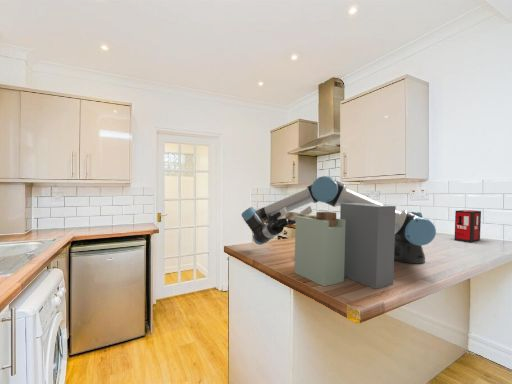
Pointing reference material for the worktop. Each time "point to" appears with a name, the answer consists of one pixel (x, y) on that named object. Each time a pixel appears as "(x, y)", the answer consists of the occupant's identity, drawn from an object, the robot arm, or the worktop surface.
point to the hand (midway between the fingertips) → (298, 209)
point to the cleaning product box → (467, 225)
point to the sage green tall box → (320, 250)
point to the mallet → (315, 217)
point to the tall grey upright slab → (369, 243)
